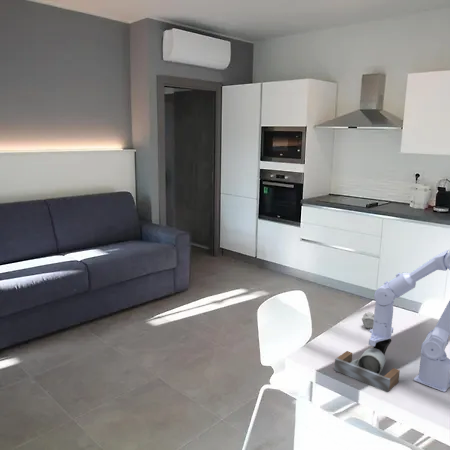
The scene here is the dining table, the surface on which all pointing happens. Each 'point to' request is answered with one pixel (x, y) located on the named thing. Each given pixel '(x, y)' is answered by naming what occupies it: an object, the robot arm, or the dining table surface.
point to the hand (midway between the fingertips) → (379, 358)
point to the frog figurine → (368, 320)
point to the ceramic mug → (371, 360)
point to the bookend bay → (366, 373)
